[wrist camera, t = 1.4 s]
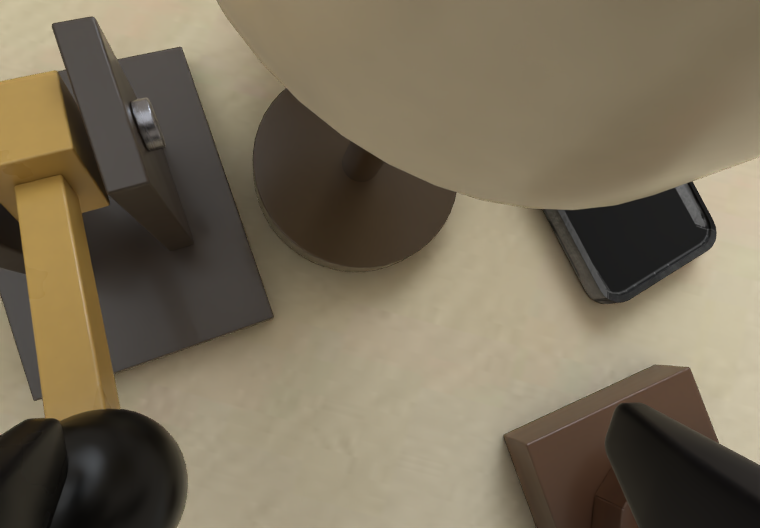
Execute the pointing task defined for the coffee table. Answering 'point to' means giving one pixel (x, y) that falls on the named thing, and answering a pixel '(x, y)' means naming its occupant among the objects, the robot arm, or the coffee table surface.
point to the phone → (633, 241)
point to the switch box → (595, 449)
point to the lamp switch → (146, 211)
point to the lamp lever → (78, 318)
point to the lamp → (488, 110)
